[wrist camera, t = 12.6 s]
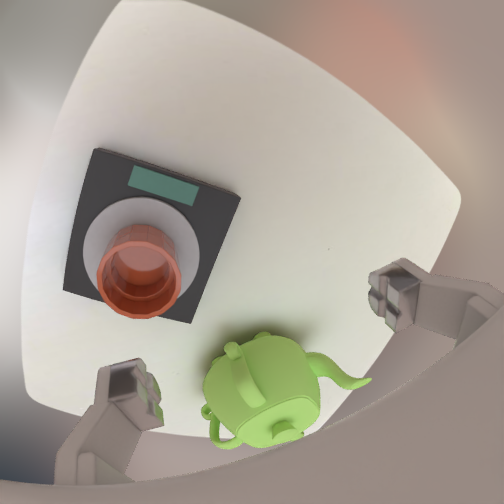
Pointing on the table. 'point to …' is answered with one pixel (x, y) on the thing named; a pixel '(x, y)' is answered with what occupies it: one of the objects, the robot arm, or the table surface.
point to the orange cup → (139, 272)
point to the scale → (148, 222)
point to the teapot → (267, 391)
